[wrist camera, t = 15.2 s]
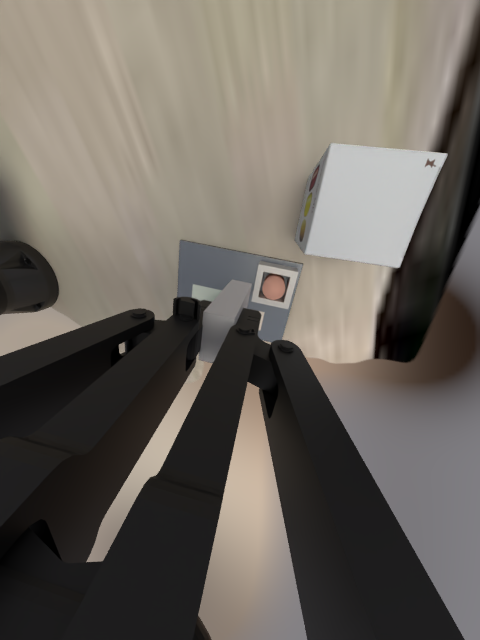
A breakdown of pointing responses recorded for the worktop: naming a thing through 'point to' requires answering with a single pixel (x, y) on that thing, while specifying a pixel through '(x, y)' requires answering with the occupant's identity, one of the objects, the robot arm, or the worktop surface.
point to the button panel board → (225, 265)
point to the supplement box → (365, 202)
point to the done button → (274, 286)
